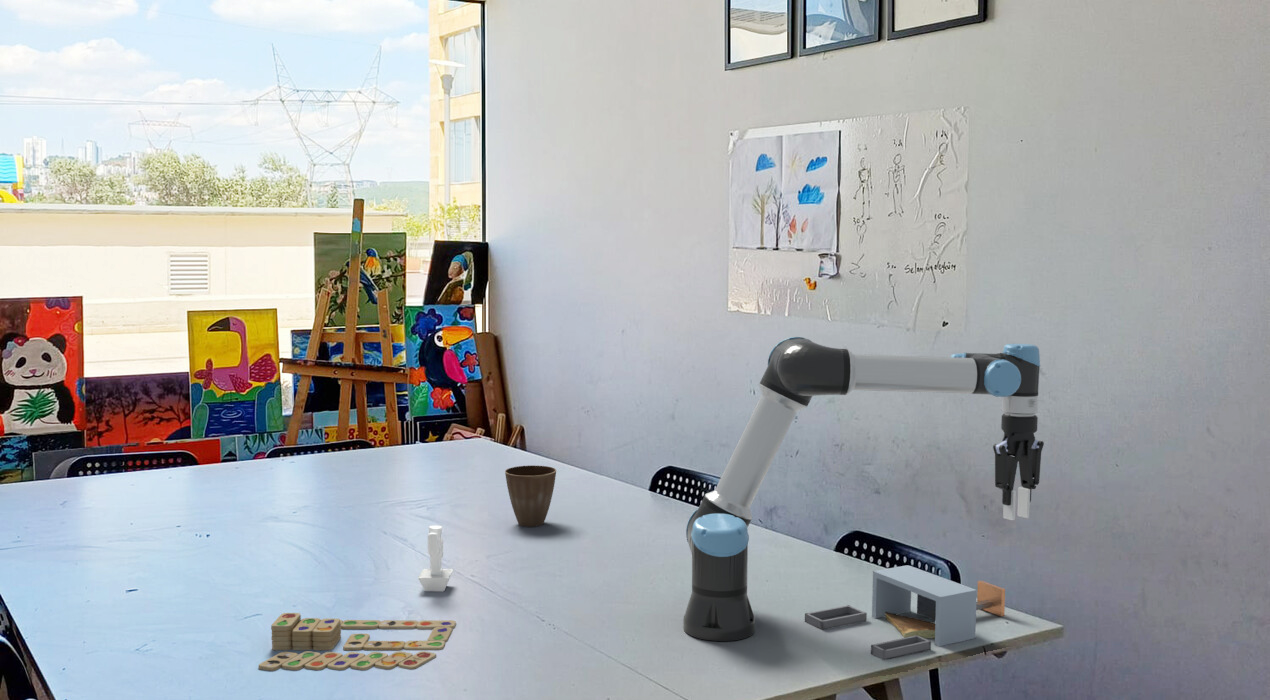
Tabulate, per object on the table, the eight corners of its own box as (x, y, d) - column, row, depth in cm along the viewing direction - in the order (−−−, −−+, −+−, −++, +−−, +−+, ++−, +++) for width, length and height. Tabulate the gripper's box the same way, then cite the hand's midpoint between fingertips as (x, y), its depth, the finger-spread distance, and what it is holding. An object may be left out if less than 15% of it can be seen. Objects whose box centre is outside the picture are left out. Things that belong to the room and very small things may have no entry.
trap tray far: (822, 630, 229) (822, 621, 229) (804, 621, 234) (804, 613, 234) (866, 621, 235) (866, 613, 235) (848, 613, 240) (848, 605, 240)
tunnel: (939, 646, 220) (940, 597, 219) (872, 616, 238) (873, 571, 237) (975, 638, 225) (976, 589, 224) (906, 609, 242) (907, 565, 242)
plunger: (963, 632, 227) (964, 604, 227) (916, 613, 240) (917, 586, 239) (1016, 621, 235) (1017, 593, 234) (968, 602, 247) (969, 576, 246)
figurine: (454, 582, 262) (453, 521, 260) (448, 594, 252) (447, 531, 251) (424, 582, 262) (423, 521, 260) (417, 594, 252) (416, 531, 251)
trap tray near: (884, 660, 212) (884, 651, 212) (870, 653, 216) (871, 644, 215) (930, 650, 218) (930, 641, 218) (916, 643, 221) (916, 635, 221)
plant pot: (554, 530, 311) (553, 475, 310) (502, 530, 312) (501, 475, 310) (558, 518, 326) (558, 465, 325) (508, 517, 326) (508, 465, 325)
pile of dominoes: (252, 673, 206) (251, 645, 205) (294, 625, 233) (293, 600, 232) (436, 673, 206) (435, 645, 206) (456, 625, 233) (456, 600, 233)
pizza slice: (884, 619, 237) (884, 609, 237) (926, 619, 238) (926, 609, 238) (902, 640, 224) (902, 630, 224) (946, 640, 225) (946, 629, 225)
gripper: (1005, 418, 233) (1001, 526, 235) (1060, 413, 241) (1056, 517, 243) (979, 414, 239) (975, 518, 241) (1033, 409, 247) (1029, 510, 249)
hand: (1016, 517), depth 242 cm, fingers open, 4 cm apart
